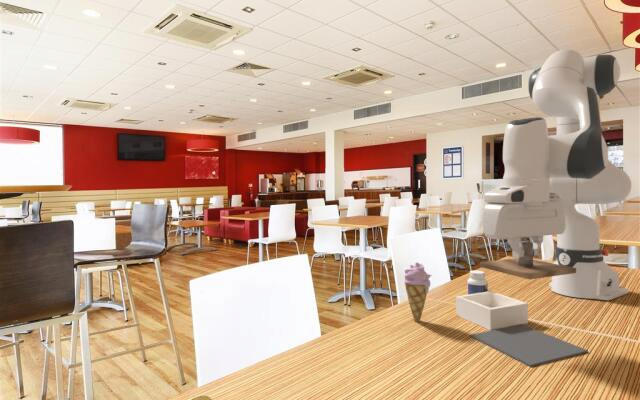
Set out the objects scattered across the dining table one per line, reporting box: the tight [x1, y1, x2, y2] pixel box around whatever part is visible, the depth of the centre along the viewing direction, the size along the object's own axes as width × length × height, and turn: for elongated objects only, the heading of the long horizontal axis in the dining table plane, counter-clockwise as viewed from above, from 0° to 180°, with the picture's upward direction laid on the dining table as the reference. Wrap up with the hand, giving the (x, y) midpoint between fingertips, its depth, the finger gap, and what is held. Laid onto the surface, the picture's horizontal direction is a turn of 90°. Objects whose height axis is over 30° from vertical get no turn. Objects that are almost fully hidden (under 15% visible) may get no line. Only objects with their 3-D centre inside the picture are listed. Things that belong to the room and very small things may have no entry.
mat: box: [469, 324, 589, 367], centre depth 83 cm, size 16×16×1 cm
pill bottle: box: [466, 269, 489, 295], centre depth 110 cm, size 5×5×10 cm
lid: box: [479, 240, 576, 280], centre depth 82 cm, size 13×13×6 cm
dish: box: [455, 290, 529, 331], centre depth 99 cm, size 12×12×5 cm
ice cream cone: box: [403, 261, 432, 323], centre depth 98 cm, size 7×6×15 cm
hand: (525, 257), depth 82 cm, fingers closed on lid, 3 cm apart
